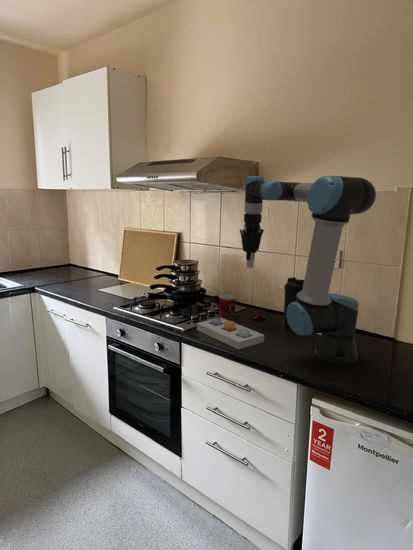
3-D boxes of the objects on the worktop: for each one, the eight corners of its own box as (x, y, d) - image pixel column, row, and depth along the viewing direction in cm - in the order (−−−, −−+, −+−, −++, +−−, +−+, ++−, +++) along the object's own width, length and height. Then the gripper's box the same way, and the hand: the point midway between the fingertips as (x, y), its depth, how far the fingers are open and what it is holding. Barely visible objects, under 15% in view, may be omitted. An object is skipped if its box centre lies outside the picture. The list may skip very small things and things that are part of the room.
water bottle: (292, 335, 165) (297, 282, 160) (276, 327, 173) (280, 277, 169) (309, 331, 171) (314, 280, 166) (292, 324, 179) (296, 275, 174)
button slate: (223, 328, 167) (223, 320, 167) (215, 330, 165) (215, 321, 164) (216, 325, 171) (216, 317, 170) (208, 327, 168) (209, 319, 167)
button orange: (236, 331, 161) (237, 322, 160) (228, 333, 158) (229, 324, 157) (229, 328, 164) (230, 320, 163) (221, 330, 161) (222, 321, 161)
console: (263, 341, 156) (264, 334, 155) (238, 349, 147) (238, 342, 147) (221, 324, 176) (221, 317, 175) (196, 329, 167) (196, 323, 166)
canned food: (221, 322, 178) (222, 299, 176) (216, 316, 186) (217, 294, 184) (237, 321, 180) (238, 298, 178) (231, 316, 188) (232, 294, 186)
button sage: (251, 340, 155) (251, 331, 154) (243, 342, 152) (243, 333, 151) (243, 336, 158) (244, 328, 157) (235, 339, 155) (236, 330, 154)
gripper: (257, 212, 174) (253, 264, 179) (236, 212, 166) (233, 266, 171) (269, 213, 168) (266, 267, 173) (248, 213, 160) (245, 269, 165)
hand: (249, 267), depth 172 cm, fingers closed
